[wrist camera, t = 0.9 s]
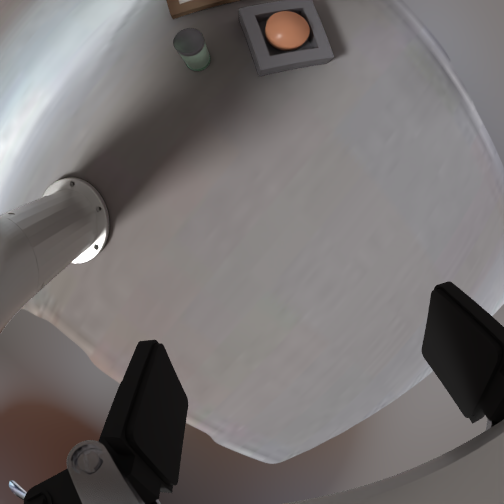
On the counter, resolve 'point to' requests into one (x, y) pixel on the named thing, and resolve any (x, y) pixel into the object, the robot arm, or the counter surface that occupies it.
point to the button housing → (277, 60)
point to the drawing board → (192, 6)
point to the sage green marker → (192, 49)
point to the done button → (286, 30)
